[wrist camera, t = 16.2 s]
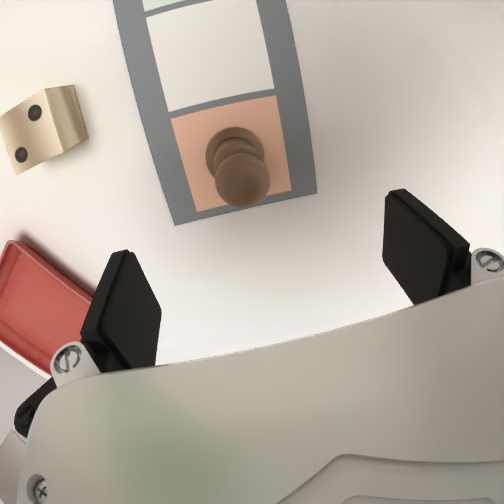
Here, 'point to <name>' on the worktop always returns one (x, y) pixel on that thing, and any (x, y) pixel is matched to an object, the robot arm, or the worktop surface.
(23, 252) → the plant saucer
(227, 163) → the pawn
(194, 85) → the board
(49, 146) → the die
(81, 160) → the worktop surface
